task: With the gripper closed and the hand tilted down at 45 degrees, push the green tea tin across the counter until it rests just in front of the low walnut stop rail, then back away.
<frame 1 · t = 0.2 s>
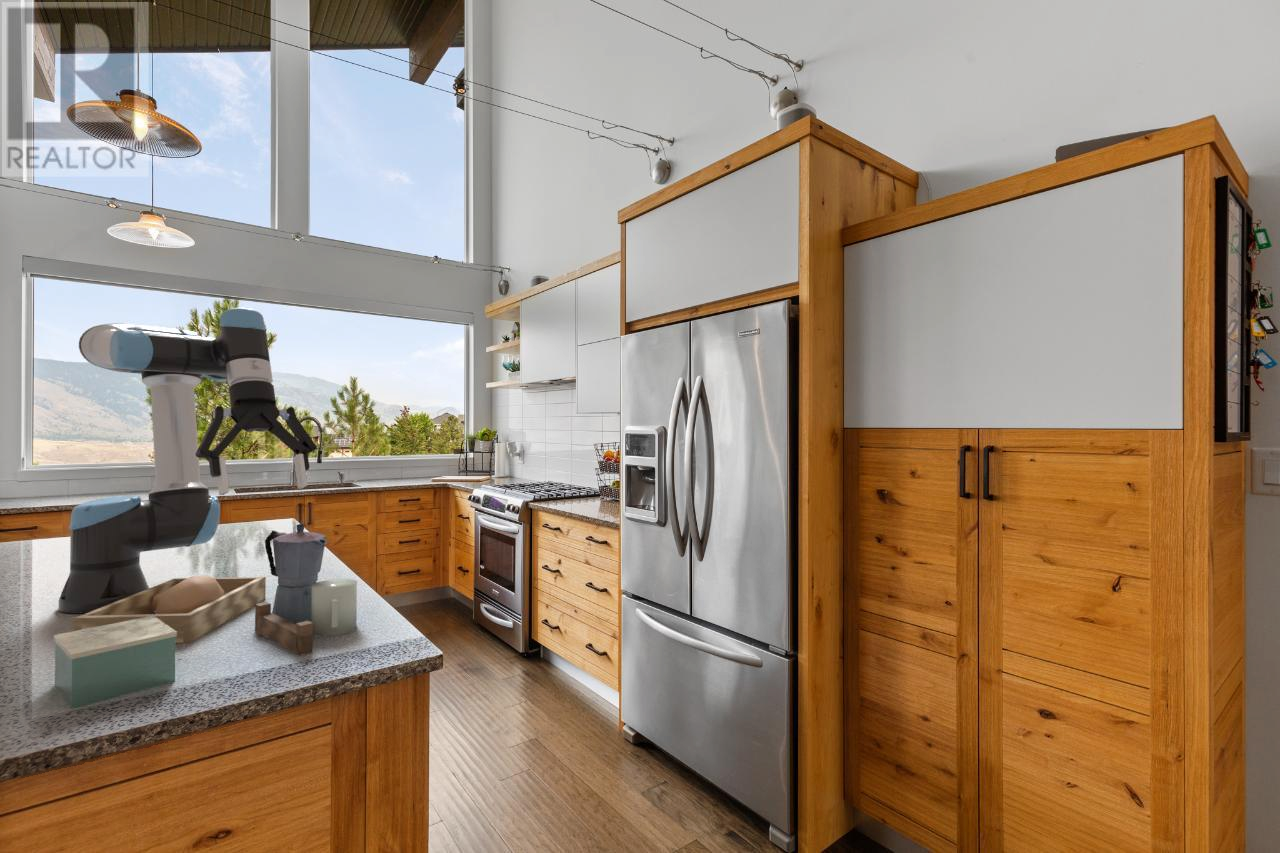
hand: (265, 490, 116), 28 cm above the counter, tool tilted 20°, fingers open, 13 cm apart
pine crate: (181, 619, 125), on the counter
walnut stop rail: (282, 640, 113), on the counter
sage mug: (334, 629, 120), on the counter
moka pot: (293, 621, 125), on the counter
squash: (182, 619, 125), resting in pine crate
green tea tin: (115, 684, 95), on the counter
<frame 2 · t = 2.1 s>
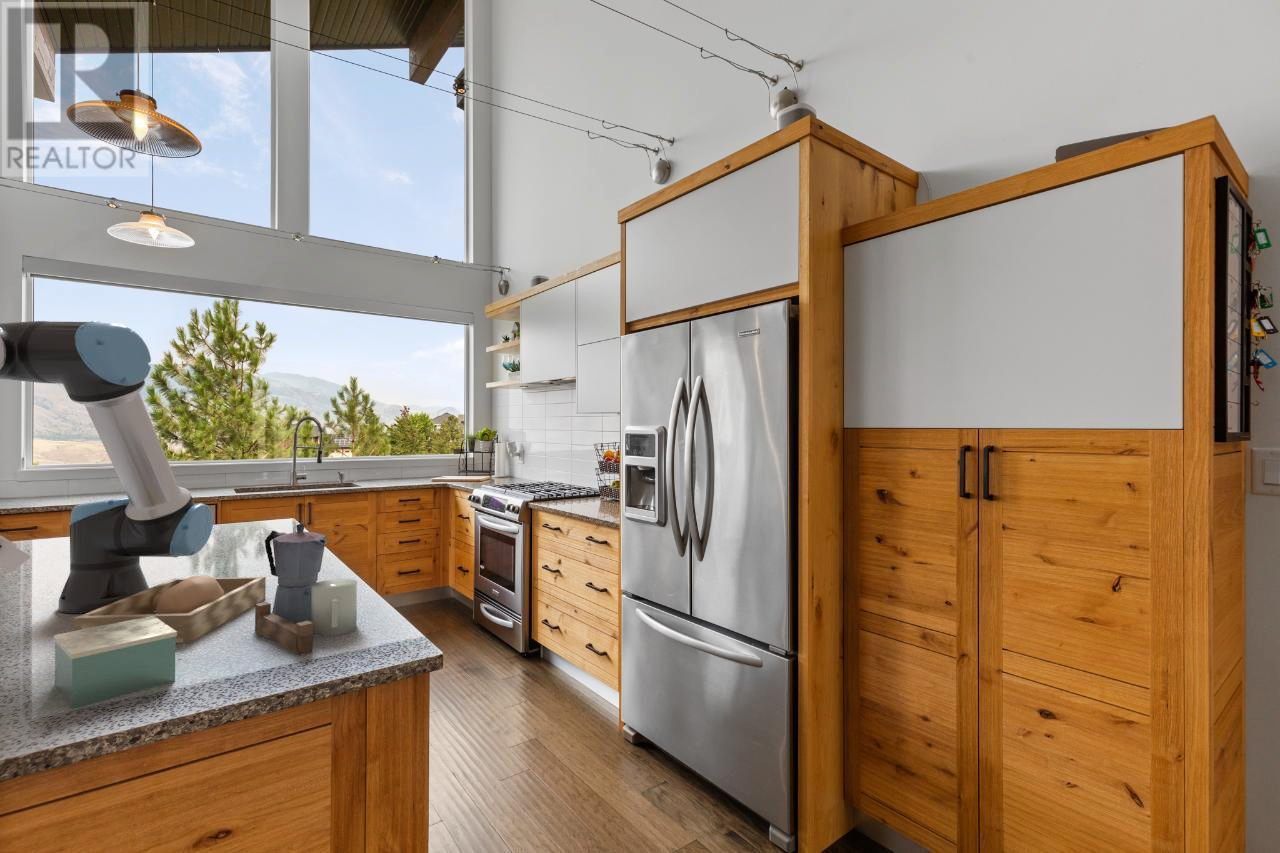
hand: (13, 558, 86), 21 cm above the counter, tool tilted 45°, fingers open, 11 cm apart
nothing on the counter moved.
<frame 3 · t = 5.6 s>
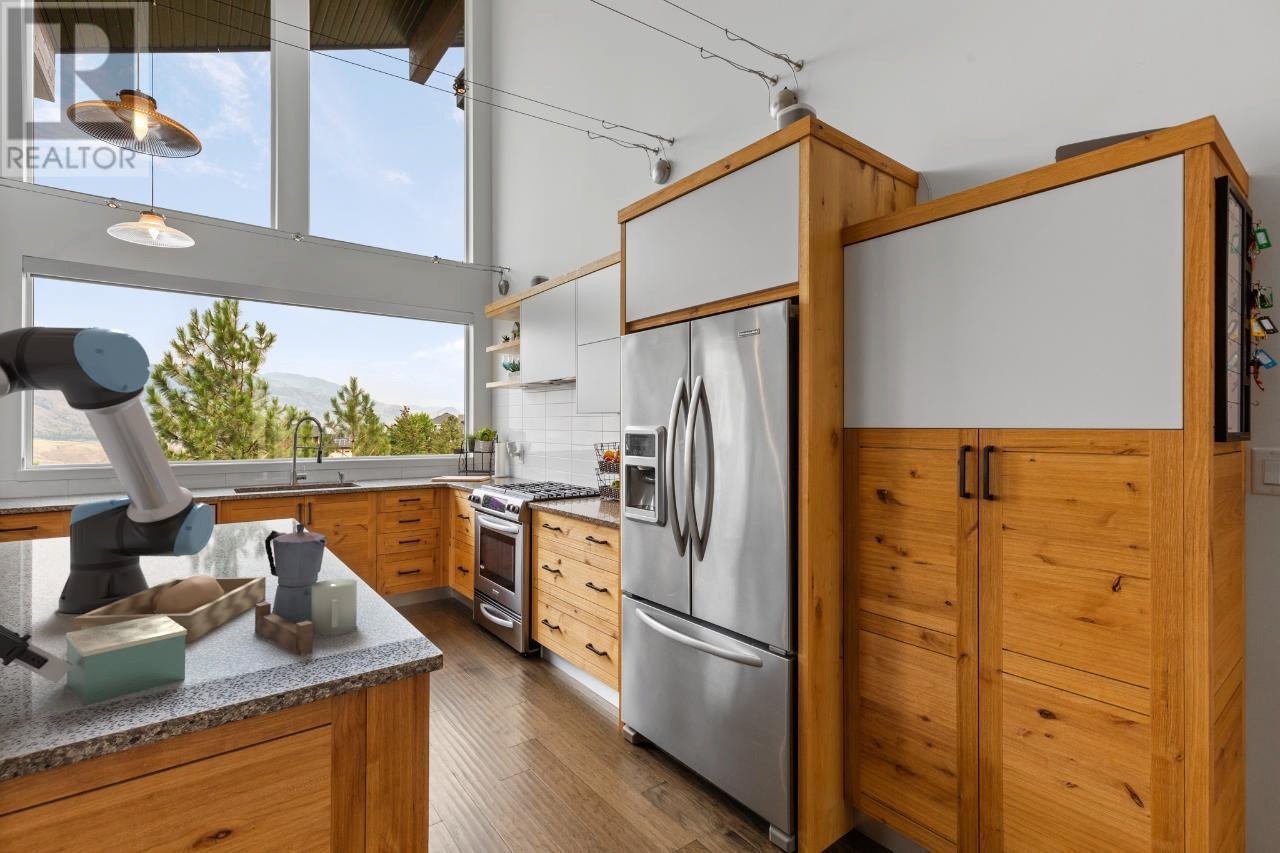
hand: (63, 673, 90), 3 cm above the counter, tool tilted 45°, fingers closed
green tea tin: (126, 682, 95), on the counter
everything else where it was.
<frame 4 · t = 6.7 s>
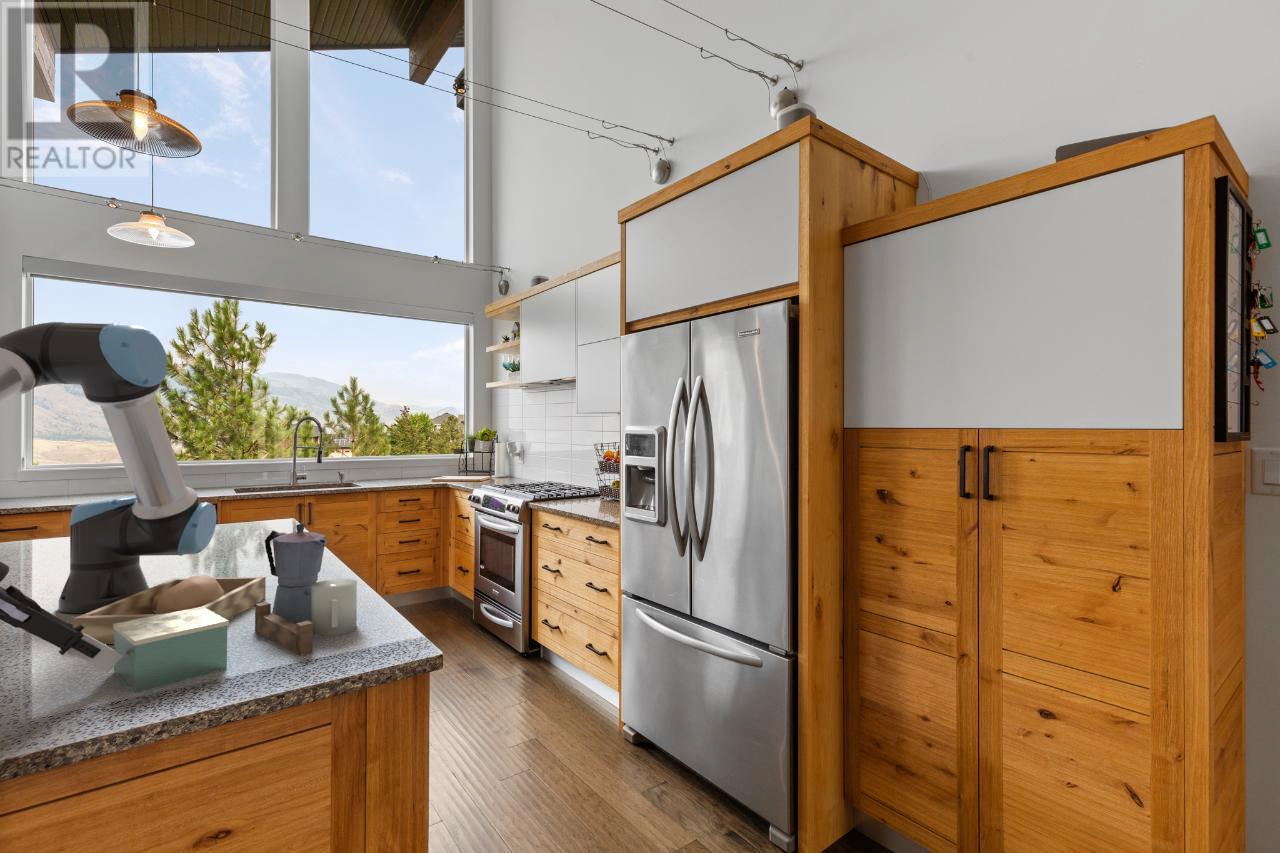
hand: (114, 662, 94), 3 cm above the counter, tool tilted 45°, fingers closed
green tea tin: (171, 671, 100), on the counter
everything else where it was.
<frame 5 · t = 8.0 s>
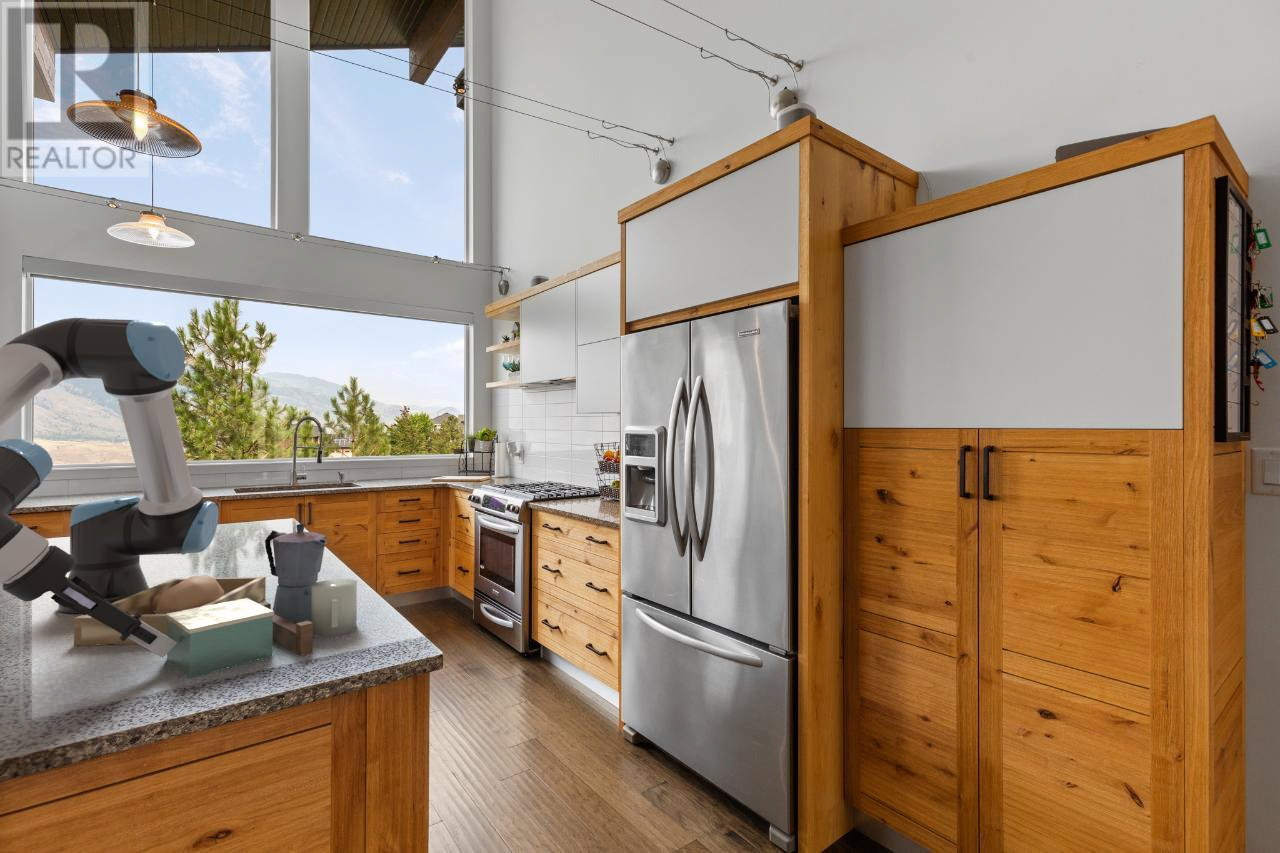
hand: (168, 649, 100), 3 cm above the counter, tool tilted 45°, fingers closed
green tea tin: (220, 658, 105), on the counter, touching gripper
everything else where it was.
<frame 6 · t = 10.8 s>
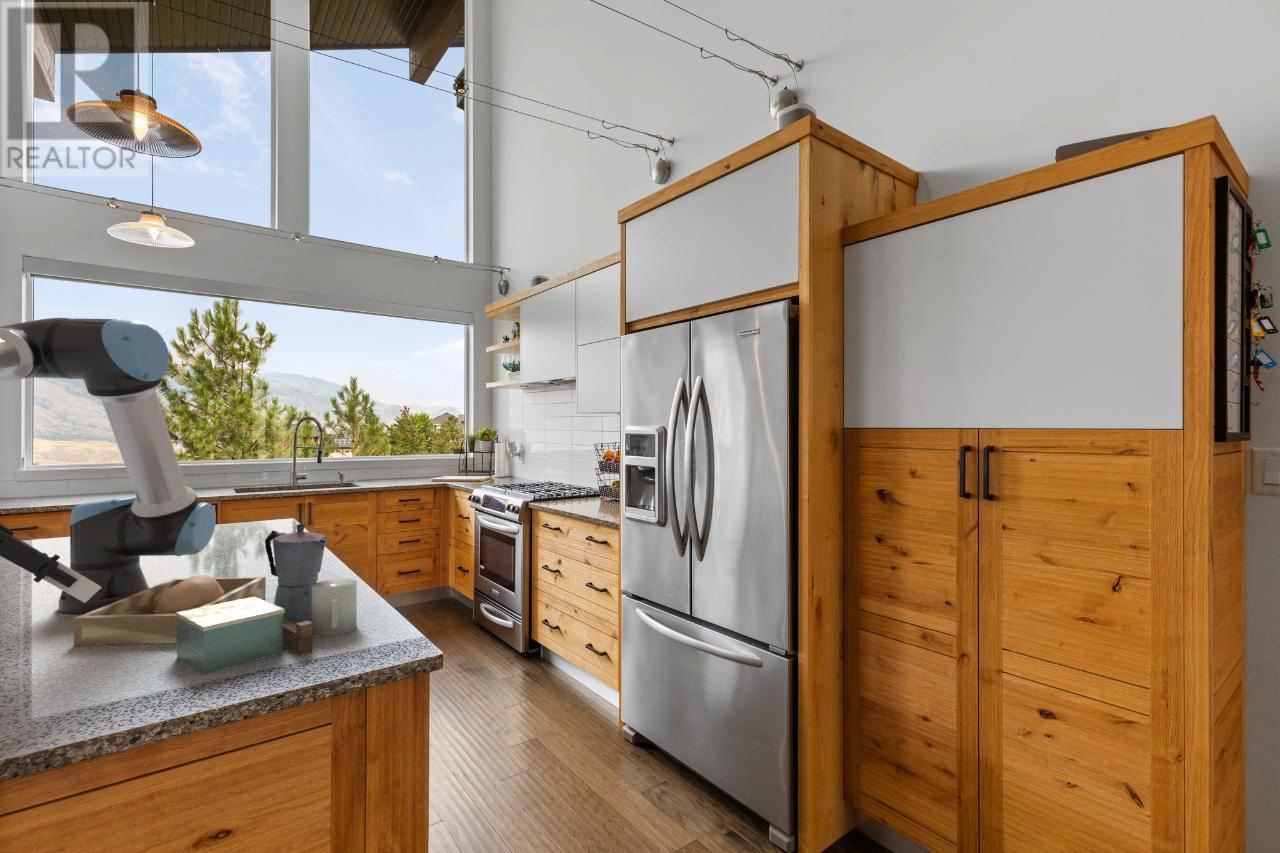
hand: (92, 594, 92), 15 cm above the counter, tool tilted 45°, fingers closed
green tea tin: (230, 656, 106), on the counter
everything else where it was.
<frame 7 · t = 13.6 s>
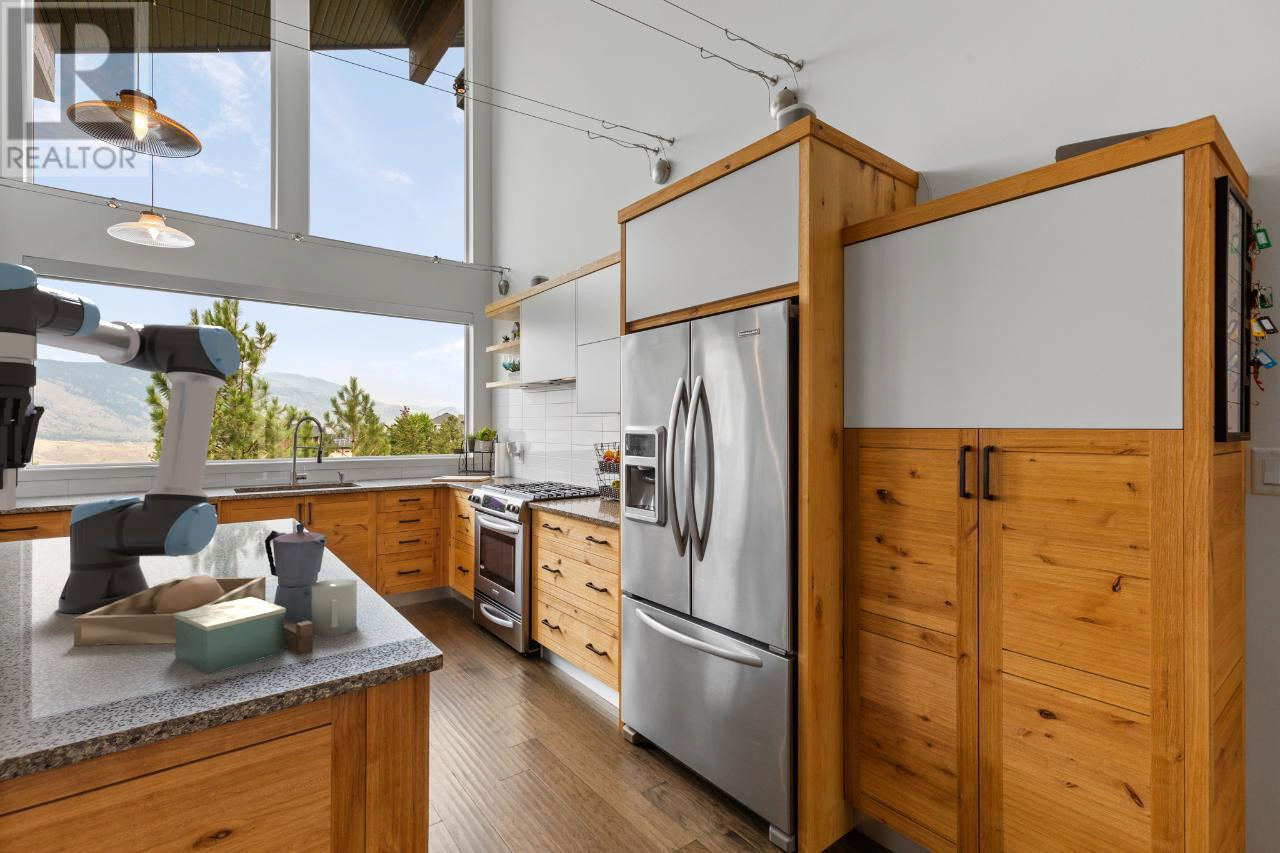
hand: (2, 509, 97), 26 cm above the counter, tool pointing down, fingers closed
nothing on the counter moved.
at the end: green tea tin inside the target area (0.4 cm from its centre), on the counter; green tea tin tilted 0°; green tea tin moved 15.5 cm from its start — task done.
